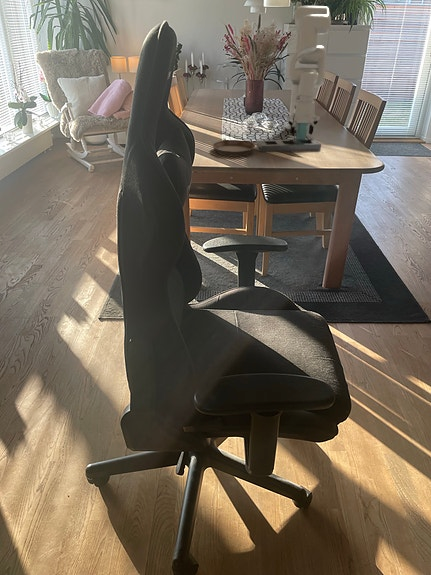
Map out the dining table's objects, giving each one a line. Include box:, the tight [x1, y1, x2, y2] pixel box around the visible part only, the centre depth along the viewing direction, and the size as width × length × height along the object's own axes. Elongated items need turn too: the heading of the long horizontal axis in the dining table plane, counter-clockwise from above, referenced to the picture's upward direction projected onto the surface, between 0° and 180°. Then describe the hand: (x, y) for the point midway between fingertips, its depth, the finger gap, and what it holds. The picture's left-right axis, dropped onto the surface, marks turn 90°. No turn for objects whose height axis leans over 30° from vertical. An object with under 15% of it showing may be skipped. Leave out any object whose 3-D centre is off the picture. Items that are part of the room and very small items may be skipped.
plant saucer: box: [212, 139, 256, 157], centre depth 223 cm, size 21×21×3 cm
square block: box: [295, 123, 309, 139], centre depth 237 cm, size 4×4×10 cm
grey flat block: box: [255, 138, 322, 153], centre depth 229 cm, size 10×30×3 cm, turn 99°
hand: (301, 134), depth 238 cm, fingers open, 9 cm apart
